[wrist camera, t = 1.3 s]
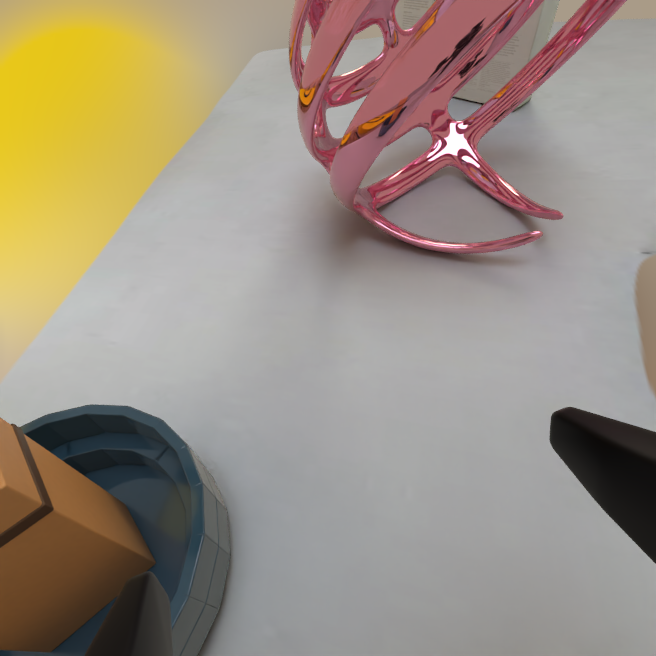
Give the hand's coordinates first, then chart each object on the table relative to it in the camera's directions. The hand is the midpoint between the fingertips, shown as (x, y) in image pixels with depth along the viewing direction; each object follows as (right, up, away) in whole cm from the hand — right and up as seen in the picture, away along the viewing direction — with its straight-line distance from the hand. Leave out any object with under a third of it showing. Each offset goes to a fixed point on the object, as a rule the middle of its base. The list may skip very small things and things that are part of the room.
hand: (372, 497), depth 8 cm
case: (-13, -9, +12) cm, 20 cm away
